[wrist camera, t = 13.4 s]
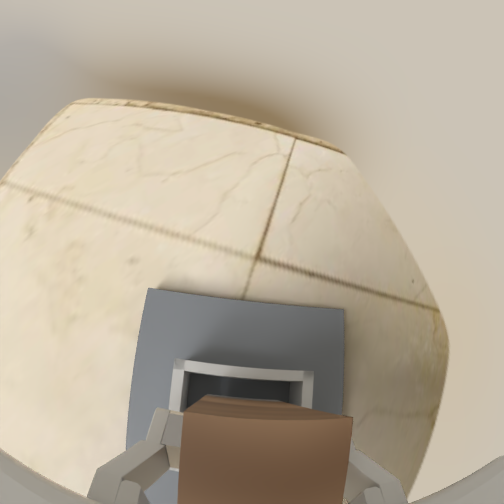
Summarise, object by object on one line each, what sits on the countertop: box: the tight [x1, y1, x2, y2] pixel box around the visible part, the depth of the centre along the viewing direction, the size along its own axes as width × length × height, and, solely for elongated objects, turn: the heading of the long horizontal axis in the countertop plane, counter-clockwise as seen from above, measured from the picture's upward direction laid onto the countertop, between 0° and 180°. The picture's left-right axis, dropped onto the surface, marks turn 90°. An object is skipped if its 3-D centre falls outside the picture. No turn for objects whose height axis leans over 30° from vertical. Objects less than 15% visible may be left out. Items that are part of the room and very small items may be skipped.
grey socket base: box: [126, 288, 344, 504], centre depth 14 cm, size 16×14×4 cm
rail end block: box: [177, 394, 353, 504], centre depth 9 cm, size 3×4×10 cm
